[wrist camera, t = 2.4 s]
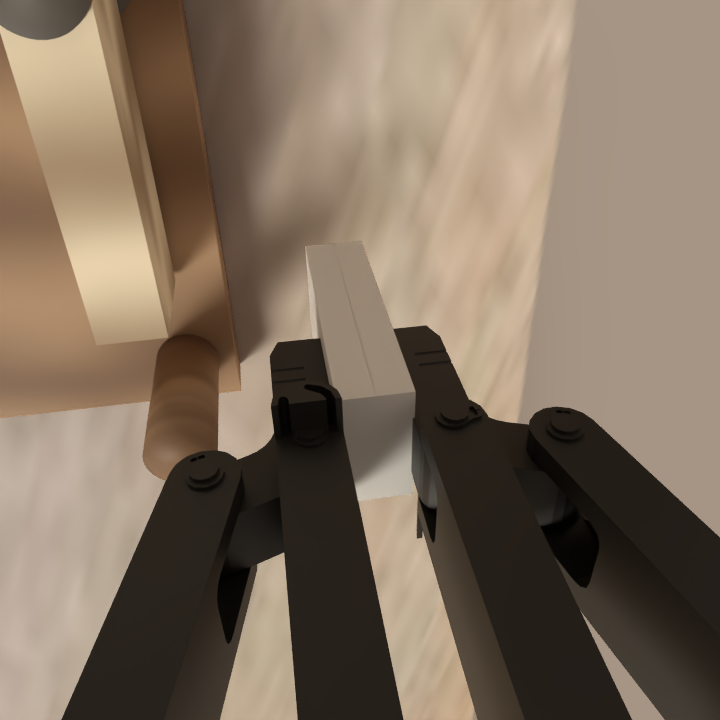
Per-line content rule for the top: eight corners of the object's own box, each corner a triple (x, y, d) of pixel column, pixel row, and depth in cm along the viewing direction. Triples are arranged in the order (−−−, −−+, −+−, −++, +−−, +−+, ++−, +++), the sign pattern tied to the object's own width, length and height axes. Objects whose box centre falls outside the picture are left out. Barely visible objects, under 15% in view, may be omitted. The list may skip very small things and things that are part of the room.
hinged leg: (-2, -100, 19) (-57, -92, 15) (102, -103, 19) (72, -97, 15) (107, 287, 26) (87, 356, 22) (180, 280, 26) (173, 346, 23)
